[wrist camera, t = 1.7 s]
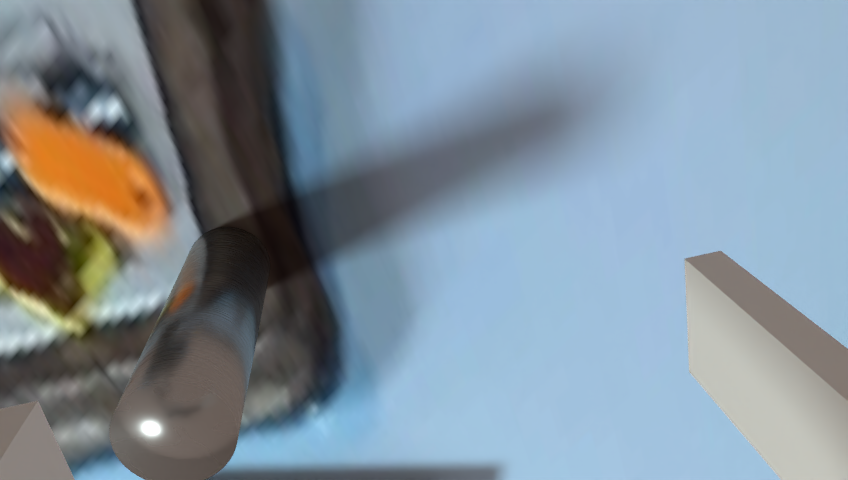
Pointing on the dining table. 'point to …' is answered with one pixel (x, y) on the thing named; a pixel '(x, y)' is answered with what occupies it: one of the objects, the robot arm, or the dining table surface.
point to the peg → (195, 364)
